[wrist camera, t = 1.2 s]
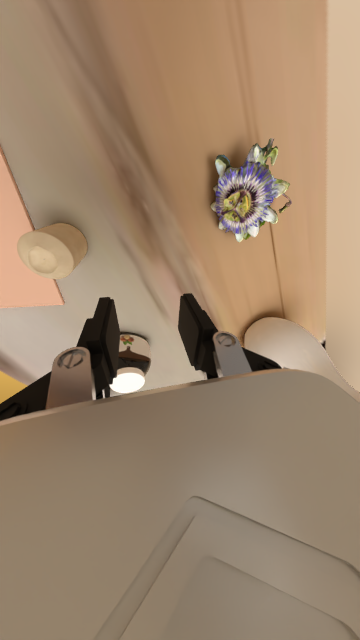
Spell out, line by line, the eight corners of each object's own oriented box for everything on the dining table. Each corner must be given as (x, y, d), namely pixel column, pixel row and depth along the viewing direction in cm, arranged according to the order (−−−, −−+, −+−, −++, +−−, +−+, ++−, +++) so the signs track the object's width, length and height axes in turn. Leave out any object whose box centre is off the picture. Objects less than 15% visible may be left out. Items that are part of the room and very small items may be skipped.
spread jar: (152, 335, 42) (157, 373, 33) (138, 364, 47) (140, 403, 38) (102, 326, 36) (92, 367, 27) (93, 359, 42) (82, 403, 33)
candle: (45, 216, 23) (3, 225, 16) (88, 229, 25) (69, 243, 18) (49, 254, 26) (14, 278, 18) (87, 263, 28) (70, 287, 20)
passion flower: (204, 204, 32) (196, 160, 20) (259, 165, 28) (286, 86, 17) (229, 256, 33) (234, 241, 21) (285, 224, 29) (327, 186, 18)
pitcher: (235, 320, 46) (328, 429, 24) (289, 300, 46) (428, 390, 24) (236, 366, 61) (294, 459, 39) (277, 351, 61) (356, 434, 40)
